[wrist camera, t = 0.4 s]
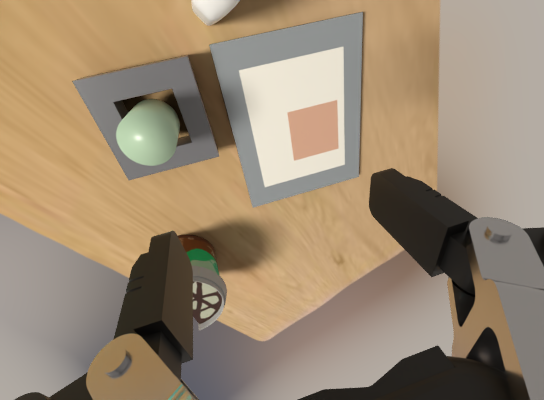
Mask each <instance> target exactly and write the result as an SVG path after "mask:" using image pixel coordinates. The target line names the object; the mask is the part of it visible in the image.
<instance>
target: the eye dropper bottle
mask: <svg viewBox="0 0 544 400" xmlns="http://www.w3.org/2000/svg"><path fill="white" fill-rule="evenodd" d="M239 1H240V0H192V10H193V12H194V13H195V14H196V15H197V16H198V17H199V18H200V19H201V21H202V22H204V23H205V24H206V25H213V24H215V23H216V22H218V21H219V20H221V19H222V18H223V17H224V16H226V15H227V14H228V13H229V12H230V11H231V10H232V9H233V8H234V7H235V6H236V5H237V3H238V2H239Z"/></svg>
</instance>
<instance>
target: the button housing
mask: <svg viewBox="0 0 544 400" xmlns="http://www.w3.org/2000/svg"><path fill="white" fill-rule="evenodd" d="M72 82H73V83H74V85H75V87H76V89H77V90H78V92H79V94H80V96H81V97H82V99H83V101H84V103H85V104H86V106H87V108H88V110H89V111H90V113H91V115H92V117H93V118H94V120H95V122H96V124H97V125H98V127H99V129H100V131H101V132H102V134H103V136H104V138H105V139H106V141H107V143H108V145H109V146H110V148H111V150H112V152H113V153H114V155H115V157H116V159H117V161H118V162H119V164H120V166H121V168H122V169H123V171H124V173H125V175H126V176H127V178H128V180H132V179H136V178H139V177H143V176H147V175H151V174H155V173H158V172H162V171H166V170H170V169H173V168H177V167H181V166H185V165H189V164H192V163H196V162H200V161H204V160H207V159H211V158H215V157H219V153H218V148H217V145H216V142H215V139H214V135H213V132H212V129H211V126H210V123H209V120H208V116H207V113H206V110H205V107H204V104H203V101H202V97H201V94H200V91H199V88H198V85H197V81H196V78H195V75H194V72H193V69H192V66H191V62H190V59H189V56H188V55H185V56H180V57H176V58H171V59H167V60H162V61H157V62H153V63H148V64H143V65H139V66H134V67H130V68H125V69H120V70H116V71H111V72H106V73H102V74H97V75H93V76H88V77H83V78H80V79H77V80H74V81H72ZM168 89H173V92H174V95H175V98H176V100H177V103H178V106H179V108H180V111H181V114H182V117H183V119H184V122H185V125H186V127H187V130H188V133H189V135H190V136H186V137H182V138H178V141H177V146H176V150H175V153H174V154H173V156H172V157H171V158H170V159H169V160H168V161H166V162H165V163H163V164H160V165H155V166H147V165H142V164H139V163H136V162H134V161H133V160H131V159H129V158H128V157H127V156H126V155H125V154H124V153H123V152H122V151H121V149H120V147H119V145H118V143H117V139H116V131H117V127H118V125H119V123H120V122H121V120H122V119H123V118H124V117H125V116H126V115H127V114H128V112H127V109H126V107H125V105H124V103H123V101H122V100H124V99H129V98H133V97H137V96H142V95H146V94H151V93H155V92H159V91H164V90H168Z"/></svg>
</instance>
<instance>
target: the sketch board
mask: <svg viewBox="0 0 544 400" xmlns="http://www.w3.org/2000/svg"><path fill="white" fill-rule="evenodd" d="M362 25H363V12H360V13H355V14H351V15H346V16H341V17H337V18H332V19H327V20H323V21H318V22H313V23H309V24H304V25H299V26H295V27H290V28H285V29H281V30H276V31H271V32H267V33H262V34H257V35H253V36H248V37H243V38H238V39H234V40H229V41H224V42H220V43H215V44H210V45H209V46H210V50H211V53H212V57H213V61H214V65H215V68H216V72H217V76H218V80H219V83H220V87H221V91H222V94H223V98H224V102H225V106H226V109H227V113H228V117H229V121H230V124H231V128H232V132H233V135H234V139H235V143H236V147H237V150H238V154H239V158H240V162H241V165H242V169H243V173H244V176H245V180H246V184H247V188H248V191H249V195H250V199H251V203H252V206H253V207H257V206H260V205H263V204H267V203H270V202H274V201H277V200H280V199H284V198H287V197H291V196H294V195H298V194H301V193H304V192H308V191H311V190H315V189H318V188H322V187H325V186H328V185H332V184H335V183H339V182H342V181H346V180H349V179H352V178H356V177H359V147H360V107H361V66H362Z"/></svg>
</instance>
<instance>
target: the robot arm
mask: <svg viewBox="0 0 544 400" xmlns="http://www.w3.org/2000/svg"><path fill="white" fill-rule="evenodd" d="M369 208H370V211H371V214H372V215H373V217H374V218H375V219H376V220H377V221H378V222H379V223H380V224H381V225H382V226H383V227H384V228H385V230H386V231H387V232H388V233H389V234H390V235H391V236H392V237H393V238H394V239H395V240H396V241H397V242H398V243H399V244H400V245H401V246H402V247H403V248H404V249H405V250H406V251H407V252H408V253H409V254H410V255H411V256H412V257H413V258H414V259H415V260H416V261H417V263H419V265H420V266H421V267H422V268H423V269H424V270H425V271H426V272H427V273H428V274H429V275H430V276H431V277H433V276H436V275H439V274H442V273H445V274H447V275H448V276H449V278H448V282H447V285H448V292H449V300H450V307H451V314H452V322H453V329H454V340H453V345H452V357H450V356H446V355H445V354H444V353H443V352H442V350H441V349H440V347H439V346H435V347H433V348H430V349H427V350H425V351H423V352H420V353H417V354H415V355H412V356H409V357H407V358H404V359H402V360H401V361H400V362H399V363H397V364H396V365H395V366H394V367H393V368H392V369H391V370H389V371H388V372H387V373H386V374H385V375H384V376H383V377H381V378H380V379H379V380H378V381H377V382H376V383H374V384H373V385H372V386H370V387H364V388H345V389H325V390H321V391H319V392H316V393H314V394H311V395H308V396H306V397H303V398H301V399H298V400H544V228H526V229H522V228H520V227H519V226H517V225H515V224H513V223H511V222H508V221H506V220H502V219H498V218H490V217H484V218H477V217H475V216H473V215H472V214H470V213H469V212H467V211H466V210H464V209H463V208H461V207H460V206H458V205H457V204H455V203H454V202H452V201H451V200H449V199H448V198H446V197H445V196H441V194H440V193H439V192H437V191H436V190H432V188H431V187H429V186H428V185H426V184H425V183H423V182H422V181H419V180H416V179H414V178H411V177H408V176H407V177H405V176H404V175H402V174H401V173H400V172H398V171H397V170H395V169H393V168H391V169H387V170H384V171H380V172H377V173H374V174H373V175H372V177H371V185H370V198H369ZM126 292H127V294H125V298H124V302H123V305H122V309H121V313H120V317H119V321H118V325H117V329H116V332H115V336H114V339H113V340H112V341H111V342H110V343H108V344H107V345H106V346H105V347H104V348H103V349H102V350H101V351H100V352H99V353H98V354H97V355H96V357H95V358H94V360H93V362H92V363H91V365H90V367H89V370H88V372H87V373H86V374H84V375H83V376H82V377H80V378H78V379H77V380H75V381H74V382H72V383H71V384H69V385H68V386H66V387H65V388H63V389H61V390H60V391H58V392H57V393H55V394H54V395H52V396H51V397H47V396H45V395H43V394H41V393H37V392H34V393H28V394H25V395H23V396H20V397H18V398H17V399H15V400H199V399H198V398H197V397H196V395H195V394H194V393H193V392H192V391H191V390H190V388H189V387H188V386H187V385H186V384H185V383H184V382H183V380H182V379H181V364H182V363H184V362H187V361H190V360H193V270H192V265H191V262H190V259H189V257H188V255H187V253H186V251H185V249H184V247H183V246H182V244H181V242H180V240H179V238H178V236H177V234H176V233H175V232H174V231H171V232H167V233H164V234H161V235H157V236H154V237H152V238H151V242H150V247H149V252H148V253H145V254H141V255H140V257H139V258H138V260H137V261H136V263H135V264H134V265H133V267H132V270H131V274H130V278H129V283H128V286H127V289H126Z"/></svg>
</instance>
